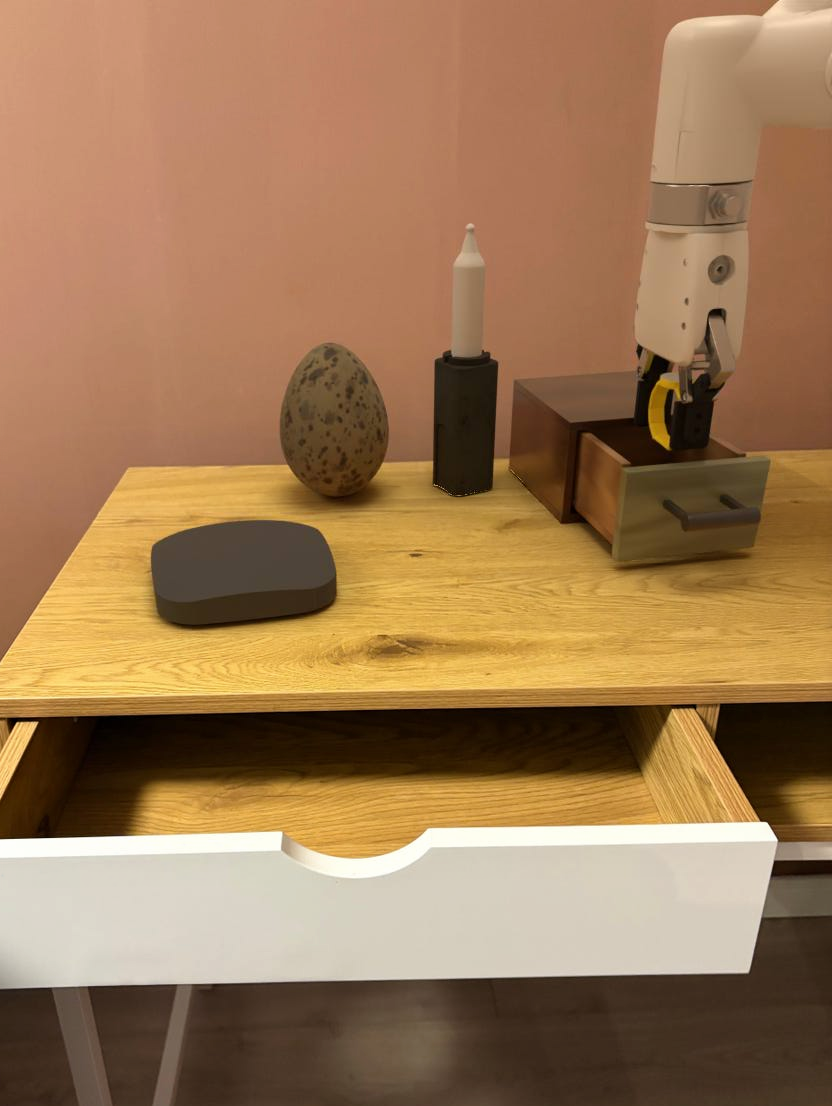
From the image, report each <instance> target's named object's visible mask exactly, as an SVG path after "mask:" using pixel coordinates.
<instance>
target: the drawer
mask: <svg viewBox="0 0 832 1106" xmlns="http://www.w3.org/2000/svg"><path fill="white" fill-rule="evenodd" d="M665 426H666V430H667V433H668V435H669V436H670V434H671V426H672V423H668V424H665ZM771 462H772V461H771V459H770V458H769V457H767V456H765V455H753V456H747V452H745V451H743V450H742V449H740V448H738V447H737V446H735V445H733V444H731V443H729V442H728V441H727V440H725V439H723V438H721V437H719V436H718V435H716V434H714V433H713V432H711V431H710V435H709V442H708V445H707V446H706V447H705V448H700V449H689V450H679V451H674V450H670V451H668V450H667V449H666V448H664V447H663V446H662V445H661V444H660V443H658V442H657V441H656V440H655V439H652V435H651V431H650V427H649V426H644V427H638V426H627V427H615V428H603V429H590V430H578V431H577V442H576V453H575V464H574V475H573V486H572V497H571V506H572V507H574V508H575V509H576V510H577V511H578V512H579V513H580V514H581V515H582V516H583V517H584V518H585V519H586V520H587V521H586V522H588V523H589V524H590V526H592V527H593V528H594V529H595V530H596V531H597V532H598V533H599V534H601V536H602V537H603V538H604V539H606V540H607V542H608V543H610V544H611V545H612V548H611V557H612V558H613V559H614V560H615V561H616V562H626V561H635V560H645V559H656V558H665V557H675V556H684V555H694V554H704V553H715V552H723V551H733V550H734V551H735V550H742V549H753V548H755V545H756V539H757V534H758V529H759V525H760V523H761V520H762V514H761V513H762V508H763V504H764V503H763V502H764V499H765V492H766V487H767V484H768V483H767V482H768V477H769V472H770V466H771Z"/></svg>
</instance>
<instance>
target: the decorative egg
mask: <svg viewBox="0 0 832 1106" xmlns="http://www.w3.org/2000/svg"><path fill="white" fill-rule="evenodd" d="M388 418H389V417H388V413H387V409H386V405H385V401H384V398H383V395H382V393H381V390H380V388H379V386H378V384H377V382H376V380H375V379H374V376H373V375H372V374H371V372H370V370H369V369H368V368H367V366H366V365H365V363H364V362H363V361H362V360H361V359H360V357H358V356H357V355H356V354H355V353H354V352H353V351H352V350H350V349H349V348H348V347H345V345H342V344H340V343H336V342H324V343H320V344H318V345H316V346H314V347H313V348H312V349H311V350H309V351H308V353H307V354H305V356H304V357H303V358H301V360H300V362H299V363H298V365H297V366H296V368H295V370H294V372H293V374H292V375H291V377H290V379H289V382H288V383H287V386H286V389H285V392H284V396H283V398H282V404H281V408H280V415H279V441H280V447H281V450H282V454H283V457H284V459H285V461H286V464H287V466H288V468H289V469H290V471H291V472H292V473H293V475H294V476H295V477H296V478H297V480H298V481H299V482H301V484H303V485H304V486H305V487H307V489H309V490H311V491H312V492H315V493H317V494H320V495H322V496H325V497H345V496H349V495H352V494H354V493H356V492H358V491H360V490H361V489H362V488H364V487H366V486H367V485H368V484H369V483H370V482H371V481H372V480H373V478H375V476H376V475H377V473H378V472H379V470H380V469H381V467H382V465H383V463H384V461H385V458H386V454H387V451H388V447H389V440H390V439H389V437H390V430H389V429H390V428H389V419H388Z"/></svg>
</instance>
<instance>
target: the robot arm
mask: <svg viewBox="0 0 832 1106" xmlns="http://www.w3.org/2000/svg"><path fill="white" fill-rule="evenodd" d="M661 60H662V61H661V69H660V77H659V78H660V79H659V89H658V90H659V91H658V98H657V106H656V107H657V109H656V118H655V128H654V129H655V130H654V137H653V147H652V157H651V167H650V177H649V186H648V195H647V197H648V198H647V204H646V213H645V214H646V215H645V225H644V229H646V230H648V233H647V236H646V237H647V238H646V243H645V246H644V247H645V248H644V252H643V257H642V263H641V269H640V275H639V282H638V288H637V295H636V296H637V297H636V305H635V313H634V314H635V315H634V324H633V330H632V331H633V335H634V340H635V343H636V350H635V354H636V355H637V359H638V363H637V367H636V370H635V371H636V374H637V378H638V379H643V380H638V385H637V394H636V403H635V412H634V424H635V425H636V426H638V427H644V426H649V419H648V409H649V407H648V406H649V401H650V396H651V392H652V391H653V389H654V387H655V385H656V383H657V382H658V381H659V380H660V376H661V375H662V374H665V373H672V372H673V370H674V367H675V365H676V366H677V367H678V369H677V370H678V373H679V388H680V400H681V401H675V402H674V410H673V418H672V426H671V434H670V442H669V447H670V448H671V449H672V450H674V451H679V450H689V449H700V448H705V447H706V446H707V445H708V442H709V435H710V432H711V428H712V421H713V414H714V406H715V402H717V401H718V400H719V398H720V391H721V390H722V389H723V388H724V387H725V385H726V382H727V381H728V380H729V378H730V377H732V375H733V374H734V373H735V371H736V368H737V362H736V361H737V360H738V358H739V356H740V353H741V348H742V344H743V343H742V342H743V334H744V327H745V317H746V309H747V299H748V287H749V286H748V284H749V267H750V266H749V265H750V256H749V255H750V243H749V230H747V228H748V224H749V217H750V211H751V204H752V198H753V191H754V184H755V178H756V171H757V165H758V164H757V163H758V157H759V151H760V144H761V138H762V130H763V128H764V127H771V128H776V127H777V128H794V129H799V130H800V129H802V130H830V129H832V0H778V1H776V2H775V3H774V4H773V5H772V7H770V8H769V9H768V10H767V11H766V12H765V13H763V15H761V16H760V15H756V14H754V15H753V14H732V15H731V14H729V15H713V16H703V17H702V16H701V17H694V18H690V19H685V20H682V21H680V22H678V23H676V24H675V25H674V26H673V27H672V28H671V29H670V31H669V32H668V34H667V36H666V38H665V42H664V45H663V53H662V59H661ZM697 355H704V360H695V359H696V358H695V357H694V356H697ZM694 371H704V372H703V373H701V374H699V376H698V377H697V378H695V381H694V383H693V381H692V376H693V372H694ZM674 390H675V389H669V390H668V392H667V395H666V400H665V405H664V423H665V424H668V423H669V421H670V416H671V408H672V400H673V393H674Z"/></svg>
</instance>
